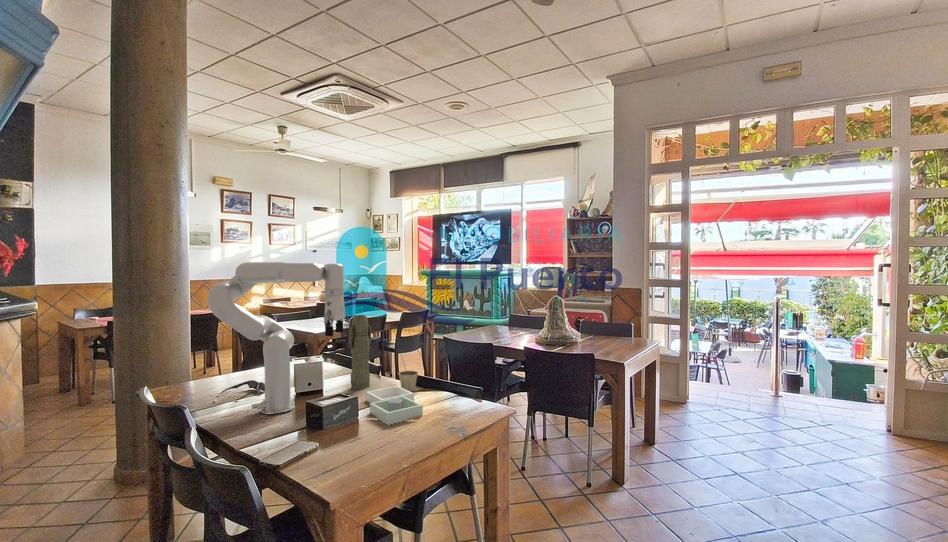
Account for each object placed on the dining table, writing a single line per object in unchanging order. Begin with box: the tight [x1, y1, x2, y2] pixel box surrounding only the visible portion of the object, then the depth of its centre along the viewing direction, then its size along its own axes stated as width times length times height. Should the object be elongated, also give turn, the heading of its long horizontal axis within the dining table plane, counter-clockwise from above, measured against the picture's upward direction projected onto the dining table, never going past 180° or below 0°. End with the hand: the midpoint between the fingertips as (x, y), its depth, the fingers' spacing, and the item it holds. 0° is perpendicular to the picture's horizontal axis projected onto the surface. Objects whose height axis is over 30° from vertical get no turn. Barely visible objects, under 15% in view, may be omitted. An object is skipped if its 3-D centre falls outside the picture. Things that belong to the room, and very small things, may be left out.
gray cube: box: [388, 399, 404, 412], centre depth 170 cm, size 5×5×5 cm
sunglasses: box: [219, 379, 265, 401], centre depth 198 cm, size 16×17×5 cm
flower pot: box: [397, 370, 419, 392], centre depth 203 cm, size 9×9×9 cm
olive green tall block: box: [348, 314, 372, 391], centre depth 210 cm, size 9×12×35 cm
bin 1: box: [365, 385, 415, 404], centre depth 186 cm, size 15×15×4 cm
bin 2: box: [369, 396, 424, 426], centre depth 170 cm, size 15×15×4 cm
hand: (334, 334), depth 181 cm, fingers open, 9 cm apart
